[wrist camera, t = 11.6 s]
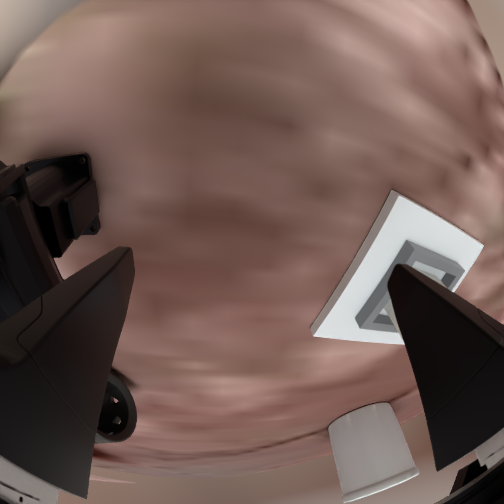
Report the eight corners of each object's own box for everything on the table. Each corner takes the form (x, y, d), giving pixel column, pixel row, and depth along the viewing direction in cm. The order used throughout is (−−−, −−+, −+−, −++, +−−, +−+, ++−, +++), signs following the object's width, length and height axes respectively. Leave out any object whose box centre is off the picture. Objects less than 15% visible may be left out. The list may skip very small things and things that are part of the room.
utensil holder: (386, 418, 51) (408, 480, 36) (324, 438, 51) (341, 505, 36) (399, 391, 43) (430, 468, 28) (324, 417, 43) (346, 501, 28)
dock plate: (310, 327, 28) (316, 347, 26) (391, 189, 21) (409, 202, 19) (408, 338, 33) (416, 353, 30) (477, 240, 25) (491, 252, 23)
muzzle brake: (143, 386, 33) (135, 455, 24) (52, 408, 38) (42, 452, 29) (89, 346, 28) (67, 422, 19) (15, 381, 33) (-1, 426, 24)
